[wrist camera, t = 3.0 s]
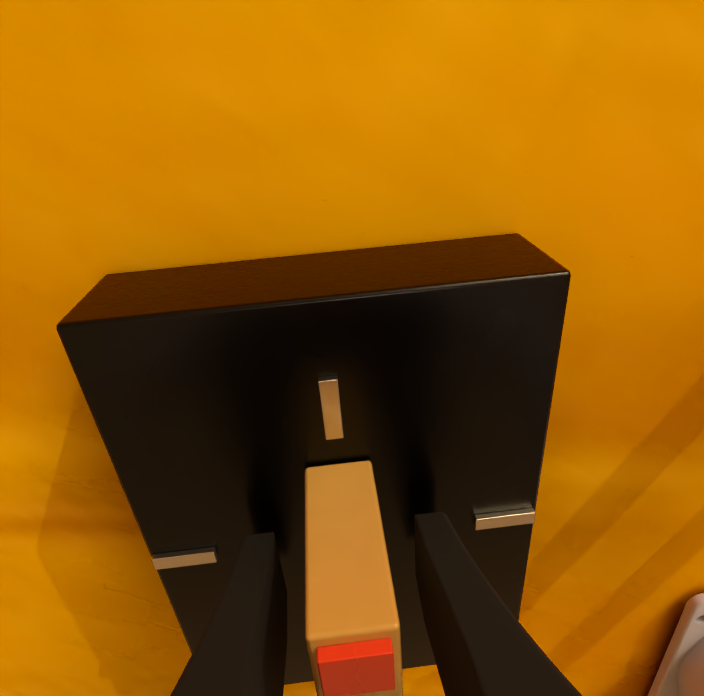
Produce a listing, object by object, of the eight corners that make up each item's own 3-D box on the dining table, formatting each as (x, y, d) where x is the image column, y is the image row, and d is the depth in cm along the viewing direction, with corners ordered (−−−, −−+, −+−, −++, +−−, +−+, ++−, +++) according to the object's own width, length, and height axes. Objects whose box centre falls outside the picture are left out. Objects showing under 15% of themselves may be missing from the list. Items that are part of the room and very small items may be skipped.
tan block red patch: (381, 595, 13) (409, 785, 9) (326, 602, 12) (334, 796, 9) (370, 458, 10) (403, 643, 7) (303, 466, 10) (303, 657, 7)
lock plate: (486, 579, 17) (516, 660, 14) (220, 613, 16) (206, 702, 14) (518, 232, 11) (578, 274, 8) (104, 273, 10) (48, 329, 8)
